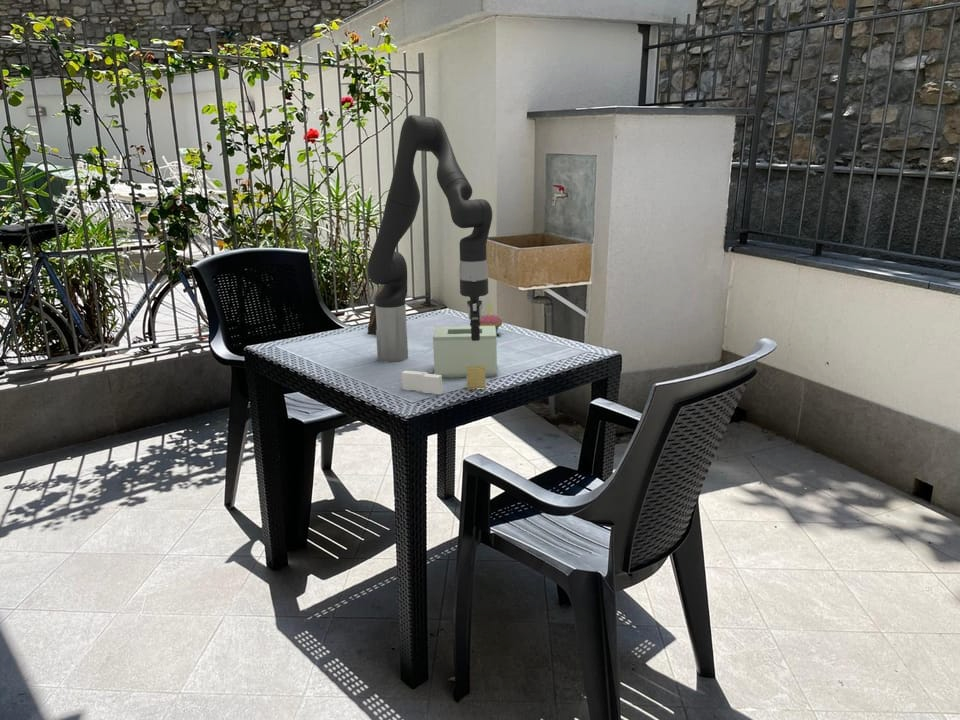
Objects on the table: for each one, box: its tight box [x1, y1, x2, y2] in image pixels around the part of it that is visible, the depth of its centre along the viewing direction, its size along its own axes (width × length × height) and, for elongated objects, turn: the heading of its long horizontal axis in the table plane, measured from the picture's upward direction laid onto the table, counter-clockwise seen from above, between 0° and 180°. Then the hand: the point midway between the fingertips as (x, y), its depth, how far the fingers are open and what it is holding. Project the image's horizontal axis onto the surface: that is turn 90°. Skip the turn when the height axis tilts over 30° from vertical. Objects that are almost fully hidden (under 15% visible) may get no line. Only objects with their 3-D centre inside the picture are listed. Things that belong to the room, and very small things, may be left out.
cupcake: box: [480, 299, 503, 335], centre depth 257 cm, size 9×8×12 cm
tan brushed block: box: [466, 365, 487, 389], centre depth 204 cm, size 5×3×6 cm, turn 90°
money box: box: [432, 325, 498, 378], centre depth 218 cm, size 18×12×12 cm, turn 91°
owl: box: [367, 284, 384, 336], centre depth 262 cm, size 13×13×20 cm
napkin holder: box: [401, 370, 443, 395], centre depth 202 cm, size 15×11×6 cm
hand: (475, 336), depth 200 cm, fingers open, 8 cm apart
